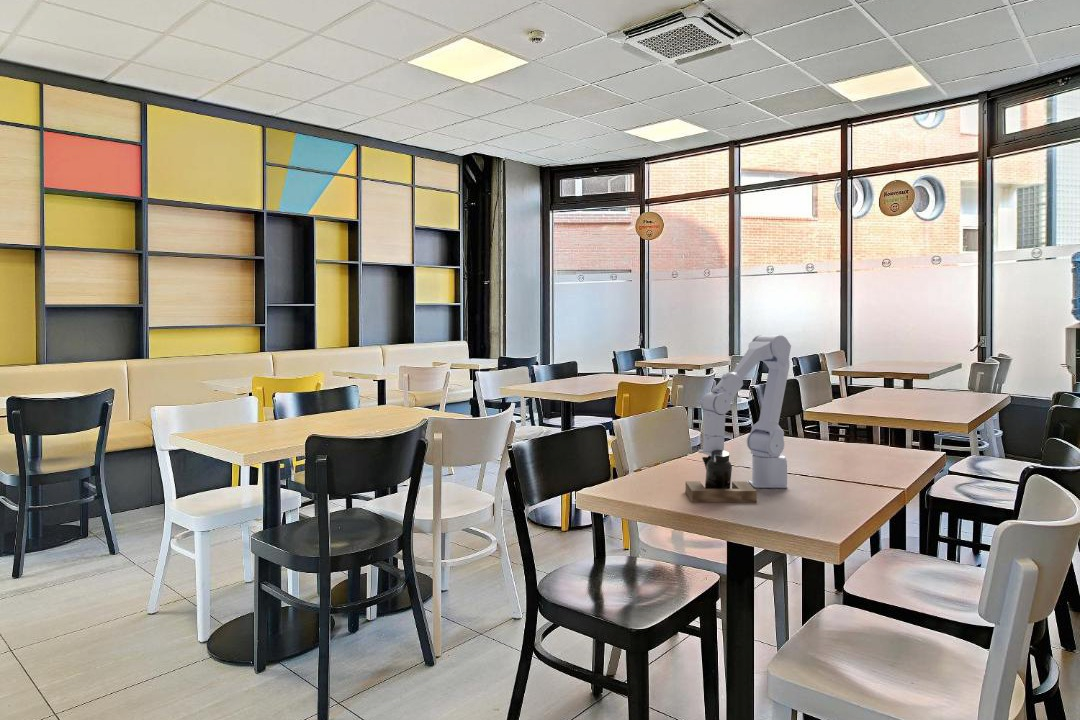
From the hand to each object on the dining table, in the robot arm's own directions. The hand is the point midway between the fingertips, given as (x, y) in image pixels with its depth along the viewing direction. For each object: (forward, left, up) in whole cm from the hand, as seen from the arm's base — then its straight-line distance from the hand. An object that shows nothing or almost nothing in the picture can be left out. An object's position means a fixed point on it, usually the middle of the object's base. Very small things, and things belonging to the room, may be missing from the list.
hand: (711, 482), depth 197 cm
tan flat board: (-1, +6, -3) cm, 6 cm away
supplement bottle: (-1, +3, -2) cm, 4 cm away
